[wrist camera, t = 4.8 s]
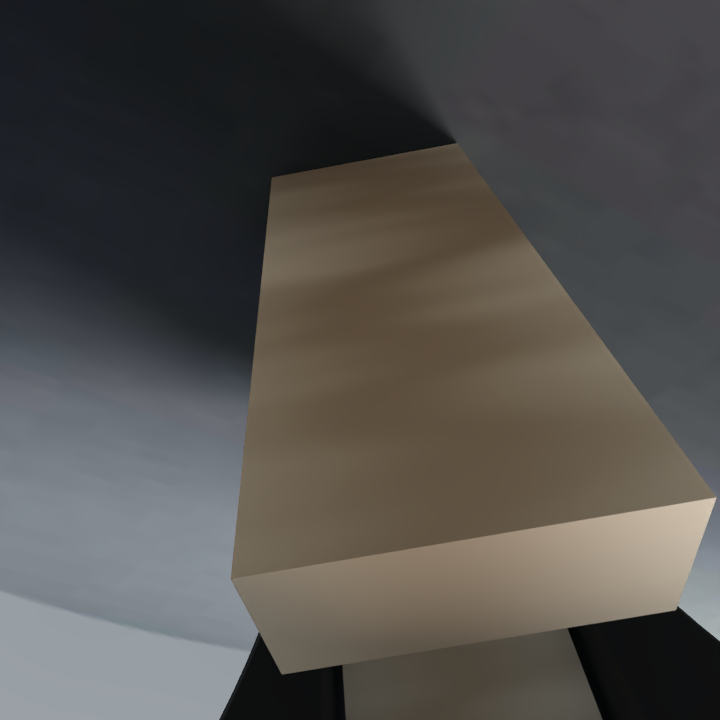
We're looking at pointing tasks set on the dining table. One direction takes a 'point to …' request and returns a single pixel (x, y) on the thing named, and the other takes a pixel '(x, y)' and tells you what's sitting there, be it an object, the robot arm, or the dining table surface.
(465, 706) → the wooden block
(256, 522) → the beige wooden block
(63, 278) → the dining table surface
